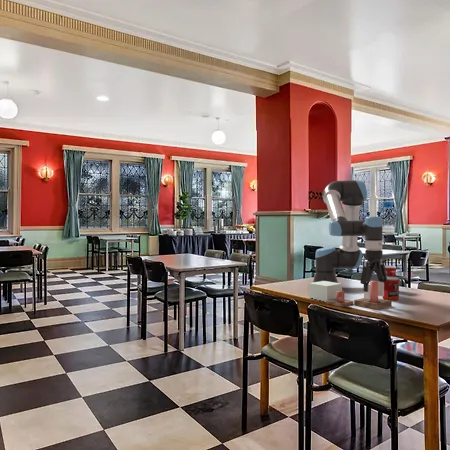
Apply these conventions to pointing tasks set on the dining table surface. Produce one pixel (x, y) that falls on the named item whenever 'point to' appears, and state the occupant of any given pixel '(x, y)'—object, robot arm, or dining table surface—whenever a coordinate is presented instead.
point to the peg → (374, 291)
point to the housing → (324, 290)
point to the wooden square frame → (376, 306)
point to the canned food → (391, 289)
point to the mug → (390, 271)
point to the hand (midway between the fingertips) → (374, 297)
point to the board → (334, 302)
